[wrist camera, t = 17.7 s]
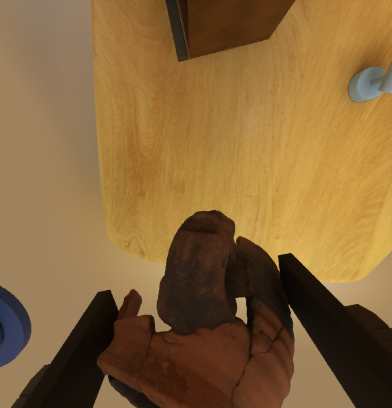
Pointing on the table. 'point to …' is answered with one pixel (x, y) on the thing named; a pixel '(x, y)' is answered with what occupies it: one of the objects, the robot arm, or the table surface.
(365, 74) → the spotlight
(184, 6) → the cupboard
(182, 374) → the broken clay pot
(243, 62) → the table surface
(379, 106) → the table surface
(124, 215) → the table surface
